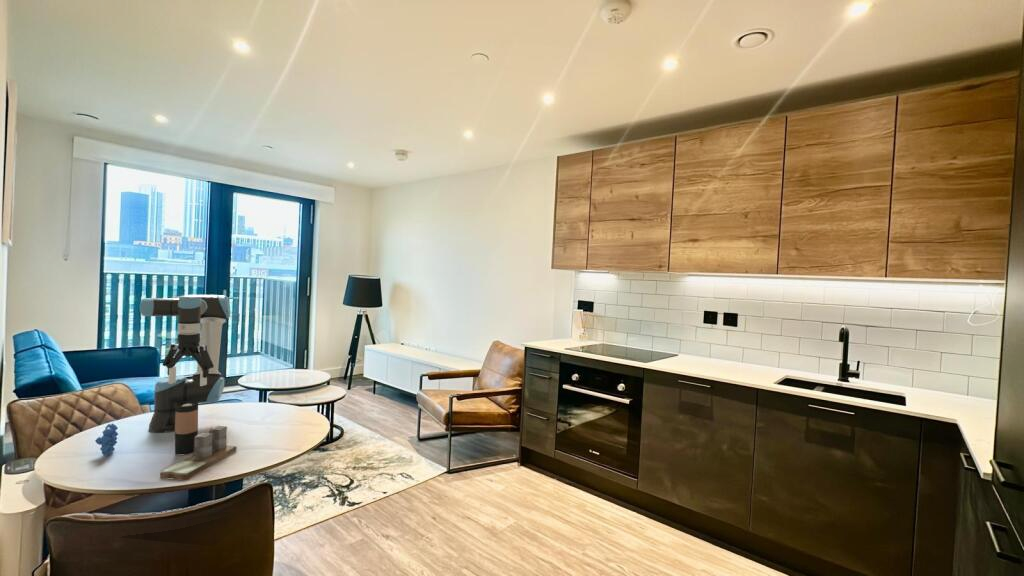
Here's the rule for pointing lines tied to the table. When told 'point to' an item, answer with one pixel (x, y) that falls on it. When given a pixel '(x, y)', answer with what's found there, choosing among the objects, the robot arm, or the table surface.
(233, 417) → the table surface
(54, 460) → the table surface
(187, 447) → the travel mug
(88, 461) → the table surface
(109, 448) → the grapes
